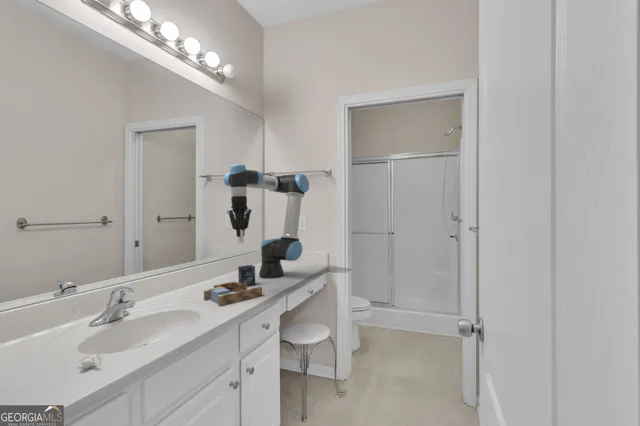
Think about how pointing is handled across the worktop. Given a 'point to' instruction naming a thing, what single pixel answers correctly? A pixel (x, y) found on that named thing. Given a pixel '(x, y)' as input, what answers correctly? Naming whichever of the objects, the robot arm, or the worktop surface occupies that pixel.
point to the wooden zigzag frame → (234, 293)
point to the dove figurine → (91, 360)
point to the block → (218, 292)
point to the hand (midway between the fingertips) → (240, 243)
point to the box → (246, 274)
